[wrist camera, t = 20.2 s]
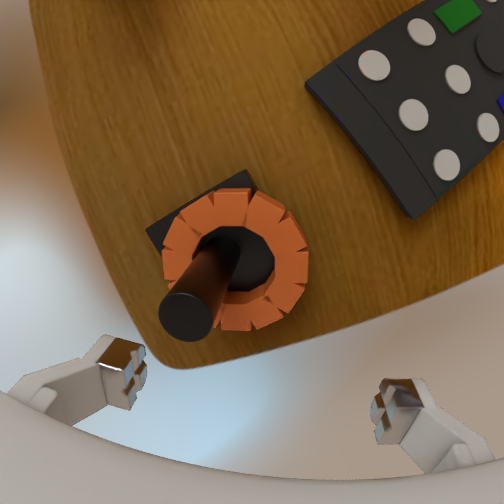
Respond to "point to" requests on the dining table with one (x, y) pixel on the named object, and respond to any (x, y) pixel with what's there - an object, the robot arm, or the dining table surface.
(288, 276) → the ring
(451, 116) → the remote control
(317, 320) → the dining table surface
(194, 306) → the post
